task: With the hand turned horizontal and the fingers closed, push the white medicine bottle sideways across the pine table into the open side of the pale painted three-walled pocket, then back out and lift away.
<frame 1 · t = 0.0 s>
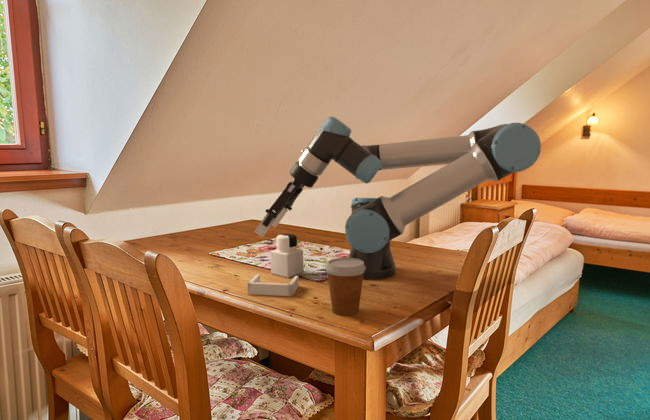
hand: (265, 229, 137), 15 cm above the table, tool tilted 35°, fingers open, 13 cm apart
disposable coffee cup: (345, 311, 116), on the table
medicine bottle: (287, 273, 148), on the table
pocket: (275, 288, 134), on the table
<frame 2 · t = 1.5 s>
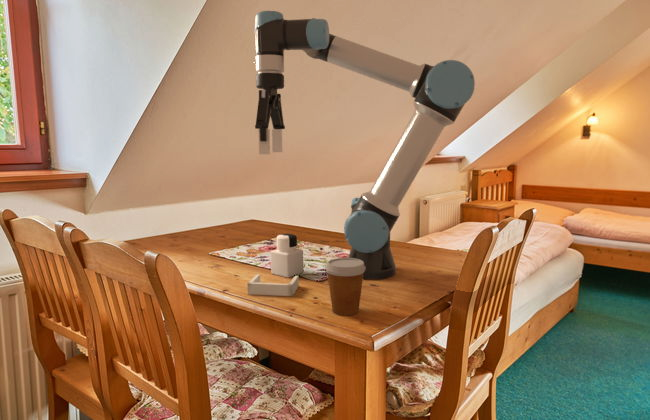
hand: (271, 153, 134), 37 cm above the table, tool pointing down, fingers open, 13 cm apart
nothing on the table moved.
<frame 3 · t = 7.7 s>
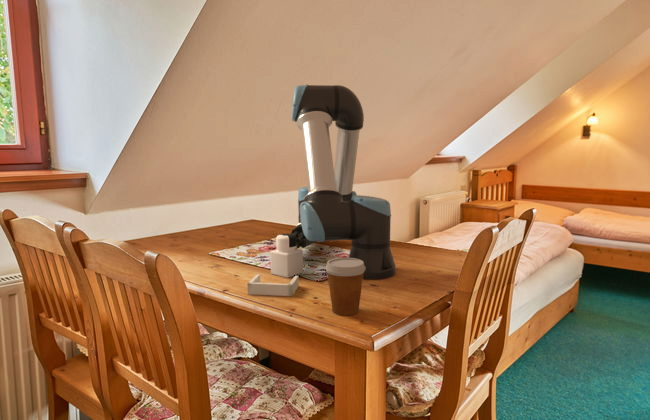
hand: (288, 249, 151), 6 cm above the table, tool horizontal, fingers closed
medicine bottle: (287, 274, 148), on the table, touching gripper
everything else where it was.
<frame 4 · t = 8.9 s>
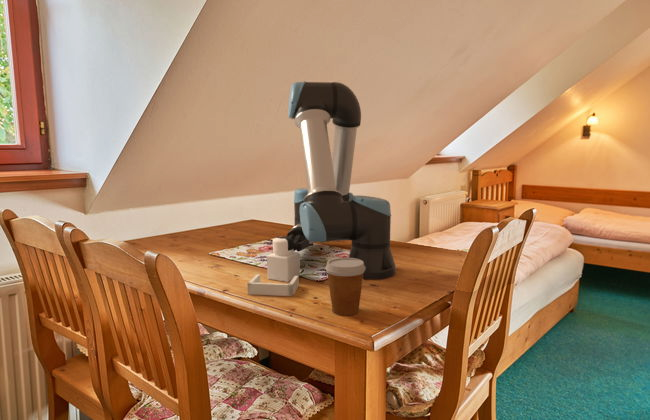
hand: (283, 252, 147), 6 cm above the table, tool horizontal, fingers closed
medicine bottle: (283, 278, 143), on the table, touching gripper
everything else where it was.
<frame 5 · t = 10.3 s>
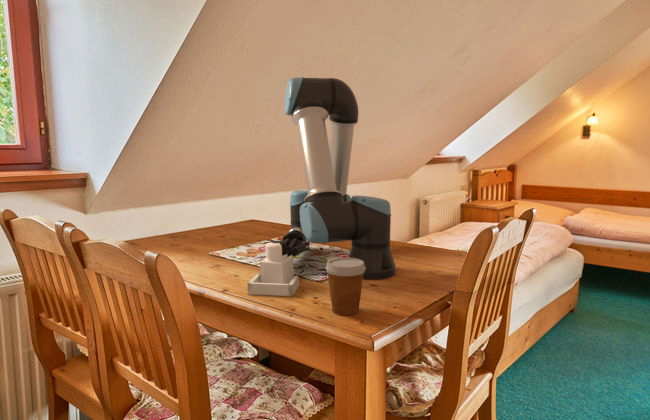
hand: (278, 258, 141), 6 cm above the table, tool horizontal, fingers closed
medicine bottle: (277, 284, 138), on the table, touching gripper
everything else where it was.
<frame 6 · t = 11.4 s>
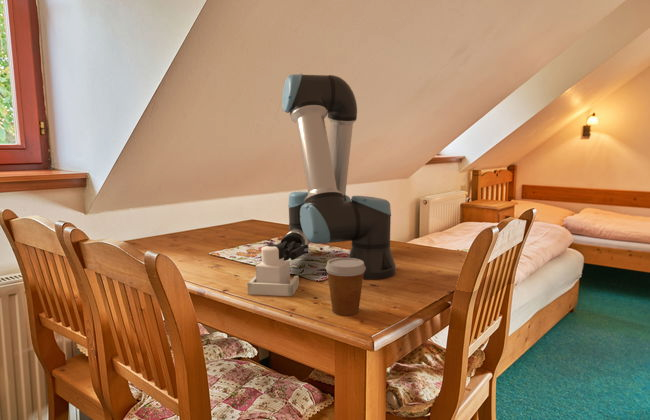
hand: (275, 261, 137), 6 cm above the table, tool horizontal, fingers closed
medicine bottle: (273, 288, 134), on the table
everything else where it was.
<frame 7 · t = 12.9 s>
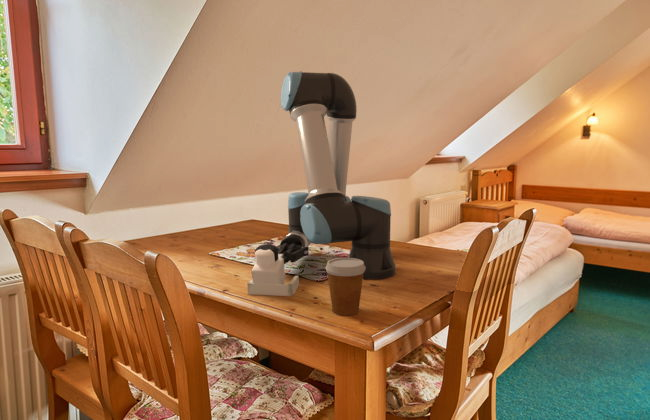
hand: (275, 264, 133), 7 cm above the table, tool horizontal, fingers closed
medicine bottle: (270, 286, 132), point 1 cm above the table, touching gripper
everything else where it was.
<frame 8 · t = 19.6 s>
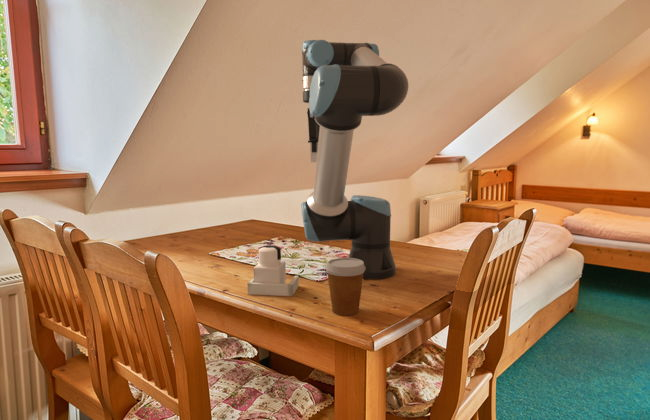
hand: (314, 162, 163), 32 cm above the table, tool pointing down, fingers closed
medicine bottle: (270, 290, 133), on the table
everything else where it was.
at the end: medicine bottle inside the target area (1.7 cm from its centre), on the table; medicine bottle tilted 0° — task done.
